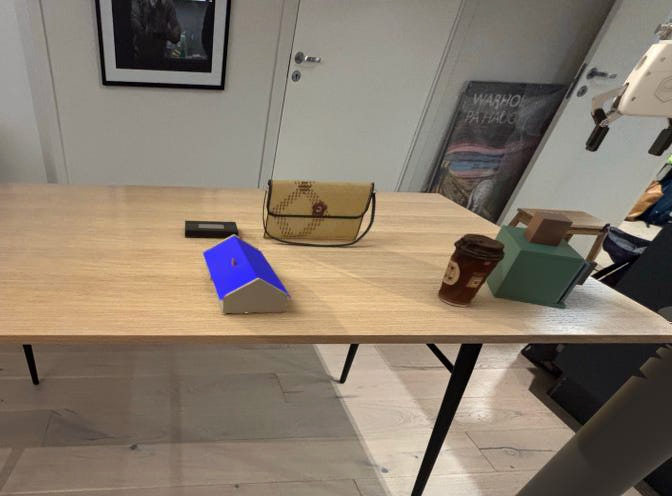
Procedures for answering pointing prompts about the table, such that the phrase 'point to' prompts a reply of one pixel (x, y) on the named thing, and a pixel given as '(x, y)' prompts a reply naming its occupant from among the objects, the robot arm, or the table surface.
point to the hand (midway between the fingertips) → (621, 152)
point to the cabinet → (533, 269)
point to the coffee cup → (469, 268)
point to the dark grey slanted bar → (579, 277)
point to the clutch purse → (317, 210)
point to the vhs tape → (210, 229)
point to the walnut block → (547, 228)
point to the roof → (244, 278)
